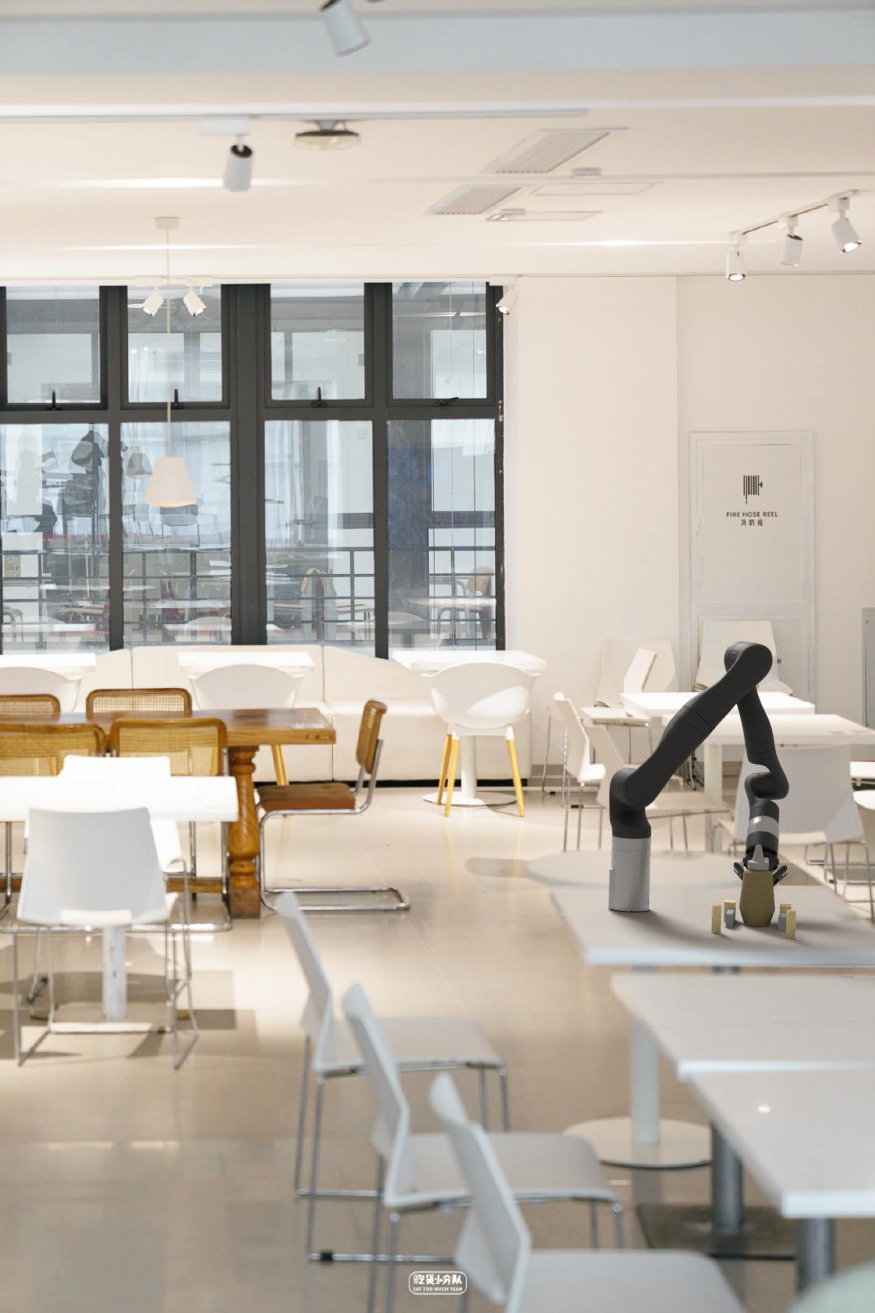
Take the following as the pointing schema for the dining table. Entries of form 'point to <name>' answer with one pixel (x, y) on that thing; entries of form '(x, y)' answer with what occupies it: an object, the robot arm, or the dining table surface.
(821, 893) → the dining table surface
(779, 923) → the wooden post frame
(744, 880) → the squeeze bottle
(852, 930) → the dining table surface
